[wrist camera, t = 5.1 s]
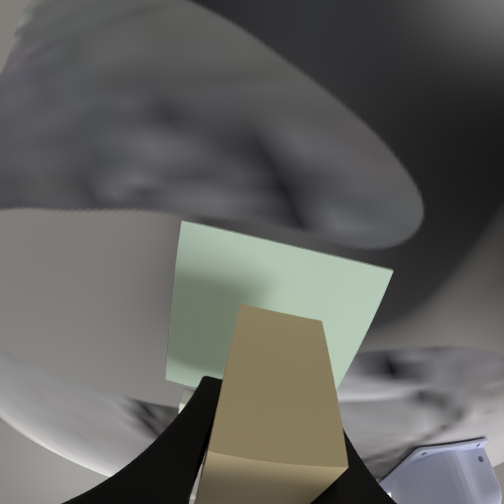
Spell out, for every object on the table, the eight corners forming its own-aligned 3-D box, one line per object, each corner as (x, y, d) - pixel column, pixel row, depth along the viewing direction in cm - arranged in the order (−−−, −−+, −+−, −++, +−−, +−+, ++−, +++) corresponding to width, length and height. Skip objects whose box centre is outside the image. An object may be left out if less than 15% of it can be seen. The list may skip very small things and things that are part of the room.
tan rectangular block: (321, 320, 11) (348, 467, 5) (278, 419, 13) (273, 532, 7) (240, 303, 11) (208, 451, 5) (215, 408, 13) (190, 520, 7)
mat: (391, 269, 12) (393, 270, 12) (323, 408, 15) (323, 411, 15) (183, 219, 12) (181, 220, 12) (166, 376, 15) (165, 379, 15)
